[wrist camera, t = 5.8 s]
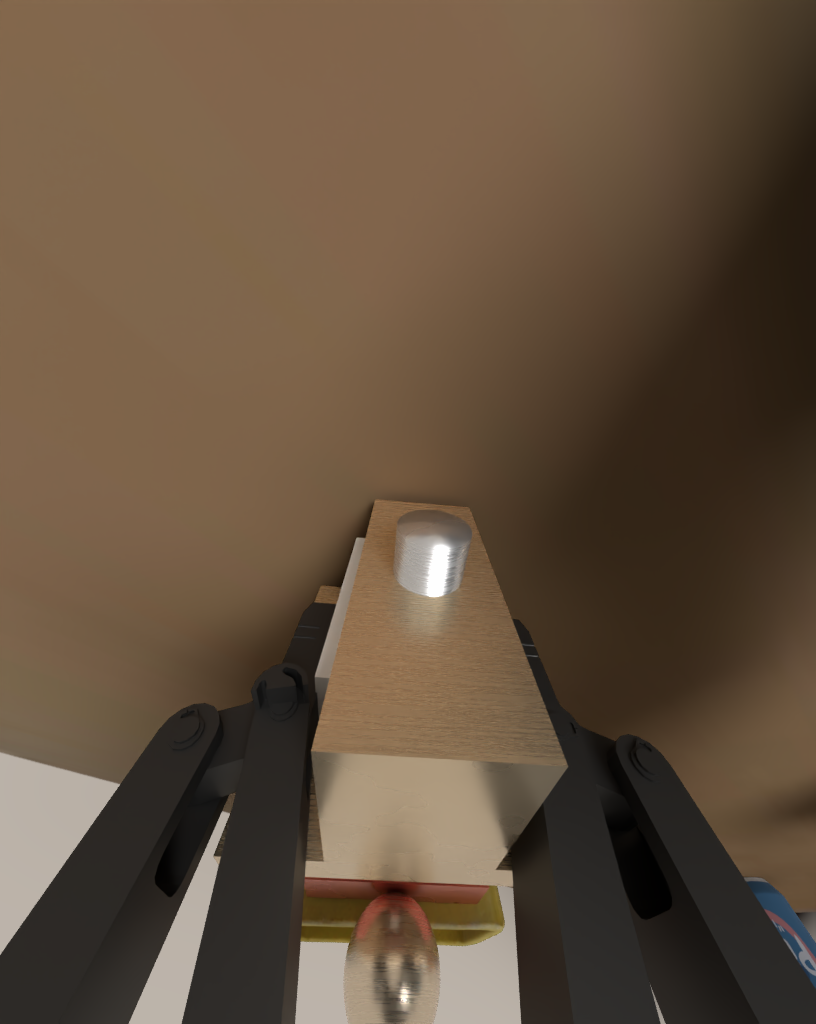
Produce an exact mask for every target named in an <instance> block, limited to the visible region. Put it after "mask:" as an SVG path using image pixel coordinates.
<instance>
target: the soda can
mask: <svg viewBox="0 0 816 1024" xmlns="http://www.w3.org/2000/svg"><path fill="white" fill-rule="evenodd" d="M744 879H745V881H746V882H747V884H748V885H749V887H750V888H751V890H752V892H753V893H754V895H755V896H756V898H757V899H758V901H759V902H760V904H761V905H762V907H763V908H764V910H765V912H766V913H767V915H768V916H769V918H770V919H771V921H772V922H773V924H774V925H775V927H776V928H777V930H778V932H779V933H780V935H781V936H782V938H783V939H784V941H785V942H786V944H787V945H788V947H789V948H790V950H791V952H792V953H793V955H794V956H795V958H796V959H797V961H798V962H799V964H800V965H801V967H802V968H803V970H804V972H805V973H806V975H807V976H808V978H809V979H810V981H811V982H812V984H813V985H814V987H815V988H816V943H815V941H814V940H813V938H812V937H811V935H810V934H809V933H808V931H807V930H806V928H805V927H804V925H803V924H802V922H801V921H800V919H799V918H798V916H797V915H796V914H795V912H794V911H793V909H792V908H791V906H790V905H789V903H788V902H787V900H786V899H785V898H784V896H783V895H782V894H781V893H780V892H778V891H777V890H776V889H775V888H774V887H773V886H772V885H770V884H769V883H768V882H767V881H766V880H764V879H762V878H757V877H744Z"/></svg>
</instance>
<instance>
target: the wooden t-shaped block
mask: <svg viewBox="0 0 816 1024" xmlns="http://www.w3.org/2000/svg"><path fill="white" fill-rule="evenodd" d="M341 588H342V587H332V586H321V587H320V589H319V592H318V594H317V597H316V599H315V602H319V603H330V604H337V601H338V598H339V594H340V591H341ZM311 756H312V764H313V766H312V780H311V795H310V810H309V824H308V839H307V854H306V868H305V883H304V887H305V891H306V896H307V897H319V898H342V899H364V900H373V901H372V902H371V903H370V904H369V905H368V906H367V907H366V908H365V910H364V911H363V913H362V914H361V916H360V917H359V919H358V921H357V923H356V925H355V928H354V930H353V933H352V936H351V939H350V942H349V946H348V950H347V955H346V961H345V968H344V1001H345V1009H346V1015H347V1019H348V1023H349V1024H433V1022H434V1019H435V1015H436V1011H437V1006H438V999H439V991H440V963H439V955H438V948H437V944H436V939H435V936H434V933H433V929H432V927H431V924H430V922H429V920H428V918H427V916H426V914H425V912H424V911H423V909H422V908H421V907H420V905H419V904H418V903H417V902H432V903H455V904H478V902H479V901H480V900H481V898H482V897H483V896H484V894H485V893H486V892H487V890H488V889H489V885H491V886H513V874H512V857H511V847H512V846H513V844H514V843H515V841H516V840H517V838H518V837H519V836H520V834H521V833H522V831H523V830H524V829H525V827H526V826H527V824H528V823H529V821H530V820H531V819H532V817H533V816H534V814H535V813H536V812H537V810H538V809H539V807H540V806H541V804H542V803H543V802H544V800H545V799H546V797H547V796H548V795H549V793H550V792H551V790H552V789H553V788H554V786H555V785H556V783H557V782H558V780H559V779H560V778H561V776H562V775H563V773H564V772H565V771H566V769H567V768H568V765H567V762H566V759H565V757H564V754H563V751H562V749H561V746H560V744H559V741H558V738H557V736H556V733H555V731H554V728H553V725H552V723H551V720H550V717H549V715H548V712H547V710H546V707H545V704H544V702H543V699H542V696H541V694H540V691H539V689H538V686H537V683H536V681H535V678H534V676H533V673H532V670H531V668H530V665H529V662H528V660H527V657H526V655H525V652H524V649H523V647H522V644H521V641H520V639H519V636H518V634H517V631H516V628H515V626H514V623H513V621H512V618H511V615H510V613H509V610H508V607H507V605H506V602H505V600H504V597H503V594H502V592H501V589H500V587H499V584H498V581H497V579H496V576H495V573H494V571H493V568H492V566H491V563H490V560H489V558H488V555H487V552H486V550H485V547H484V545H483V542H482V539H481V537H480V534H479V532H478V529H477V526H476V524H475V521H474V518H473V516H472V513H471V511H470V508H469V507H458V506H446V505H435V504H424V503H412V502H401V501H390V500H378V499H375V503H374V507H373V511H372V514H371V518H370V522H369V526H368V530H367V534H366V538H365V542H364V546H363V550H362V554H361V557H360V561H359V565H358V569H357V573H356V577H355V581H354V585H353V589H352V593H351V597H350V600H349V604H348V608H347V612H346V616H345V620H344V624H343V628H342V632H341V636H340V640H339V643H338V647H337V651H336V655H335V659H334V663H333V667H332V671H331V675H330V679H329V683H328V687H327V690H326V694H325V698H324V702H323V706H322V710H321V714H320V718H319V722H318V726H317V730H316V733H315V737H314V741H313V745H312V749H311ZM231 812H232V811H231ZM230 816H231V813H230ZM230 816H229V818H228V821H227V823H226V826H225V828H224V831H223V833H222V836H221V838H220V841H219V843H218V846H217V848H216V851H215V854H214V858H215V860H216V861H217V863H218V865H219V863H220V858H221V854H222V850H223V846H224V841H225V837H226V833H227V829H228V824H229V820H230Z"/></svg>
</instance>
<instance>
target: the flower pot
mask: <svg viewBox="0 0 816 1024" xmlns="http://www.w3.org/2000/svg"><path fill="white" fill-rule="evenodd" d="M372 901H373V900H364V899H342V898H319V897H307V896H306V891H305V887H304V898H303V912H302V927H301V941H304V942H338V943H339V942H340V943H341V942H342V943H349V942H350V939H351V936H352V933H353V930H354V928H355V925H356V923H357V921H358V919H359V917H360V916H361V914H362V913H363V911H364V910H365V908H366V907H367V906H368V905H369V904H370V903H371V902H372ZM417 903H418V904H419V905H420V907H421V908H422V909H423V911H424V912H425V914H426V916H427V918H428V920H429V922H430V924H431V927H432V929H433V933H434V936H435V939H436V944H437V945H451V946H468V945H473V944H477V943H479V942H482V941H484V940H486V939H488V938H490V937H492V936H495V935H497V934H499V933H500V932H502V931H503V928H504V925H505V921H504V916H503V911H502V906H501V902H500V897H499V893H498V888H497V886H491V885H489V889H488V890H487V892H486V893H485V894H484V896H483V897H482V898H481V900H480V901H479V902H478V904H455V903H432V902H417Z"/></svg>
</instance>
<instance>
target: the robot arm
mask: <svg viewBox="0 0 816 1024" xmlns="http://www.w3.org/2000/svg"><path fill="white" fill-rule="evenodd" d="M364 542H365V538H358V537H357V538H356V541H355V545H354V548H353V551H352V555H351V558H350V561H349V564H348V568H347V571H346V574H345V578H344V581H343V584H342V588H341V591H340V594H339V598H338V601H337V604H330V603H319V602H313V603H312V604H311V605H310V606H309V607H308V608H307V609H306V610H305V611H304V613H303V615H302V617H301V620H300V622H299V624H298V627H297V629H296V632H295V634H294V638H293V639H292V641H291V644H290V646H289V648H288V651H287V653H286V655H285V658H284V660H283V663H282V664H279V665H275V666H273V667H271V668H269V669H268V670H266V671H264V672H263V673H262V674H261V675H260V676H259V678H258V679H257V680H256V681H255V683H254V685H253V687H252V690H251V694H252V698H253V701H252V702H250V703H247V704H244V705H241V706H237V707H233V708H229V709H225V710H221V711H217V710H216V708H215V707H214V706H212V705H209V704H206V703H203V704H193V705H191V706H188V707H186V708H183V709H181V710H180V711H178V712H177V713H176V714H174V715H173V716H171V717H170V718H169V719H168V720H167V721H166V722H165V723H164V725H163V726H162V727H161V728H160V729H159V730H158V732H157V733H156V735H155V736H154V737H153V739H152V740H151V742H150V743H149V745H148V746H147V747H146V749H145V750H144V752H143V753H142V754H141V756H140V757H139V759H138V760H137V762H136V763H135V764H134V766H133V767H132V769H131V770H130V772H129V773H128V774H127V776H126V777H125V779H124V780H123V781H122V783H121V784H120V786H119V787H118V789H117V790H116V791H115V793H114V794H113V796H112V797H111V799H110V800H109V801H108V803H107V804H106V806H105V807H104V809H103V810H102V811H101V813H100V814H99V816H98V817H97V818H96V820H95V821H94V823H93V824H92V825H91V827H90V828H89V830H88V831H87V833H86V834H85V835H84V837H83V838H82V840H81V841H80V843H79V844H78V845H77V847H76V848H75V850H74V851H73V853H72V854H71V855H70V857H69V858H68V860H67V861H66V862H65V864H64V865H63V867H62V868H61V870H60V871H59V873H58V874H57V875H56V877H55V878H54V880H53V881H52V882H51V884H50V885H49V887H48V888H47V889H46V891H45V892H44V894H43V895H42V897H41V898H40V900H39V901H38V902H37V904H36V905H35V907H34V908H33V909H32V911H31V912H30V914H29V915H28V917H27V918H26V919H25V921H24V922H23V923H22V925H21V926H20V928H19V929H18V931H17V932H16V934H15V935H14V936H13V938H12V939H11V941H10V942H9V943H8V945H7V946H6V948H5V949H4V951H3V952H2V954H1V955H0V1024H128V1023H129V1021H130V1019H131V1016H132V1014H133V1012H134V1010H135V1007H136V1005H137V1003H138V1000H139V998H140V996H141V994H142V992H143V989H144V987H145V985H146V982H147V980H148V978H149V976H150V973H151V971H152V969H153V967H154V964H155V962H156V959H157V958H158V955H159V953H160V951H161V948H162V946H163V944H164V941H165V939H166V937H167V935H168V932H169V930H170V928H171V926H172V923H173V921H174V919H175V916H176V914H177V912H178V910H179V907H180V905H181V903H182V901H183V898H184V896H185V894H186V892H187V889H188V887H189V885H190V883H191V880H192V878H193V876H194V873H195V871H196V869H197V867H198V864H199V862H200V860H201V857H202V855H203V853H204V851H205V848H206V846H207V844H208V842H209V839H210V837H211V835H212V833H213V830H214V828H215V826H216V823H217V821H218V819H219V817H220V814H221V812H222V810H223V808H224V805H225V803H226V801H227V799H228V796H229V794H231V793H234V792H236V795H235V799H234V803H233V807H232V812H231V816H230V820H229V824H228V829H227V833H226V837H225V841H224V846H223V850H222V854H221V858H220V863H219V867H218V871H217V876H216V880H215V884H214V888H213V893H212V897H211V901H210V905H209V910H208V914H207V918H206V922H205V927H204V931H203V935H202V939H201V944H200V948H199V952H198V956H197V961H196V965H195V969H194V974H193V978H192V982H191V986H190V991H189V995H188V999H187V1003H186V1008H185V1012H184V1016H183V1020H182V1024H295V1015H296V1014H295V1013H296V1000H297V985H298V971H299V970H298V969H299V956H300V942H301V927H302V912H303V898H304V883H305V868H306V854H307V839H308V824H309V810H310V795H311V780H312V766H313V764H312V756H311V749H312V745H313V741H314V737H315V733H316V730H317V726H318V722H319V718H320V714H321V710H322V706H323V702H324V698H325V694H326V690H327V687H328V683H329V679H330V675H331V671H332V667H333V663H334V659H335V655H336V651H337V647H338V643H339V640H340V636H341V632H342V628H343V624H344V620H345V616H346V612H347V608H348V604H349V600H350V597H351V593H352V589H353V585H354V581H355V577H356V573H357V569H358V565H359V561H360V557H361V554H362V550H363V546H364ZM512 621H513V623H514V626H515V628H516V631H517V634H518V636H519V639H520V641H521V644H522V647H523V649H524V652H525V655H526V657H527V660H528V662H529V665H530V668H531V670H532V673H533V676H534V678H535V681H536V683H537V686H538V689H539V691H540V694H541V696H542V699H543V702H544V704H545V707H546V710H547V712H548V715H549V717H550V720H551V723H552V725H553V728H554V731H555V733H556V736H557V738H558V741H559V744H560V746H561V749H562V751H563V754H564V757H565V759H566V762H567V765H568V768H567V769H566V771H565V772H564V773H563V775H562V776H561V778H560V779H559V780H558V782H557V783H556V785H555V786H554V788H553V789H552V790H551V792H550V793H549V795H548V796H547V797H546V799H545V800H544V802H543V803H542V804H541V806H540V807H539V809H538V810H537V812H536V813H535V814H534V816H533V817H532V819H531V820H530V821H529V823H528V824H527V826H526V827H525V829H524V830H523V831H522V833H521V834H520V836H519V837H518V838H517V840H516V841H515V843H514V844H513V846H512V847H511V857H512V874H513V891H514V908H515V925H516V940H517V958H518V975H519V992H520V1008H521V1024H660V1021H659V1017H658V1012H657V1009H656V1005H655V1002H654V998H653V994H652V991H651V987H652V990H653V992H654V995H655V997H656V1000H657V1002H658V1005H659V1008H660V1010H661V1013H662V1015H663V1018H664V1020H665V1023H666V1024H816V988H815V987H814V985H813V984H812V982H811V981H810V979H809V978H808V976H807V975H806V973H805V972H804V970H803V968H802V967H801V965H800V964H799V962H798V961H797V959H796V958H795V956H794V955H793V953H792V952H791V950H790V948H789V947H788V945H787V944H786V942H785V941H784V939H783V938H782V936H781V935H780V933H779V932H778V930H777V928H776V927H775V925H774V924H773V922H772V921H771V919H770V918H769V916H768V915H767V913H766V912H765V910H764V908H763V907H762V905H761V904H760V902H759V901H758V899H757V898H756V896H755V895H754V893H753V892H752V890H751V888H750V887H749V885H748V884H747V882H746V881H745V879H744V878H743V876H742V875H741V873H740V872H739V870H738V868H737V867H736V865H735V864H734V862H733V861H732V859H731V858H730V856H729V855H728V853H727V852H726V850H725V848H724V847H723V845H722V844H721V842H720V841H719V839H718V838H717V836H716V835H715V833H714V832H713V830H712V828H711V827H710V825H709V824H708V822H707V821H706V819H705V818H704V816H703V815H702V813H701V811H700V810H699V808H698V807H697V805H696V804H695V802H694V801H693V799H692V798H691V796H690V795H689V793H688V791H687V790H686V788H685V787H684V785H683V784H682V782H681V781H680V779H679V778H678V776H677V775H676V773H675V771H674V770H673V768H672V767H671V765H670V764H669V763H668V761H667V760H666V759H665V758H664V756H663V755H662V754H661V753H660V752H659V751H658V750H657V749H656V748H654V747H653V746H652V745H651V744H650V743H648V742H647V741H645V740H643V739H641V738H640V737H637V736H633V735H629V734H627V735H623V736H620V737H619V738H618V740H617V741H613V740H611V739H608V738H606V737H604V736H601V735H599V734H596V733H594V732H592V731H589V730H587V729H585V728H583V727H581V726H580V725H579V724H578V723H577V722H576V721H575V719H574V718H573V717H572V716H571V714H570V713H568V712H567V711H566V710H565V709H563V708H562V707H561V706H560V704H559V702H558V700H557V698H556V696H555V694H554V691H553V689H552V686H551V684H550V682H549V679H548V677H547V674H546V672H545V670H544V667H543V665H542V662H541V660H540V658H539V657H538V656H539V655H538V653H537V650H536V648H535V647H534V643H533V641H532V638H531V636H530V634H529V631H528V630H527V629H526V628H525V627H524V625H523V624H522V623H521V622H520V621H519V620H515V619H512ZM649 982H650V983H649ZM650 985H651V987H650Z"/></svg>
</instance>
